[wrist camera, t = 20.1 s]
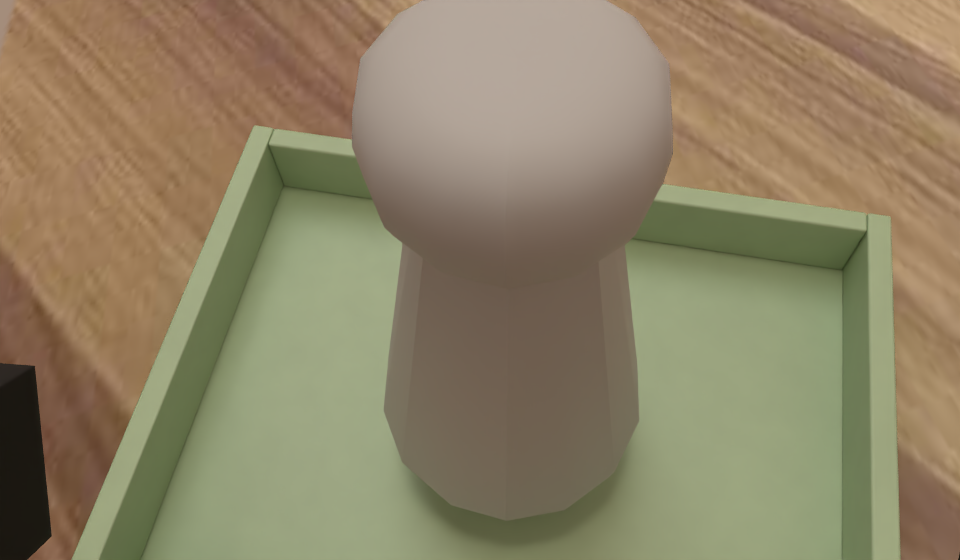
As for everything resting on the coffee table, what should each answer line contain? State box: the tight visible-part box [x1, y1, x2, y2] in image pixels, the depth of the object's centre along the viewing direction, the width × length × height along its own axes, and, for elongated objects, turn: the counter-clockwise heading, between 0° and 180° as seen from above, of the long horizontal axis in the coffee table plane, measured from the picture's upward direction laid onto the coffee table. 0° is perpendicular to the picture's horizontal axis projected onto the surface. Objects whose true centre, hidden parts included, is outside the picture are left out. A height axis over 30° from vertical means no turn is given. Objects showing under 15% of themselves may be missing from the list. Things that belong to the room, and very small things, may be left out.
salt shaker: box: [352, 0, 673, 521], centre depth 16 cm, size 6×6×13 cm
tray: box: [72, 126, 901, 560], centre depth 21 cm, size 17×13×2 cm
